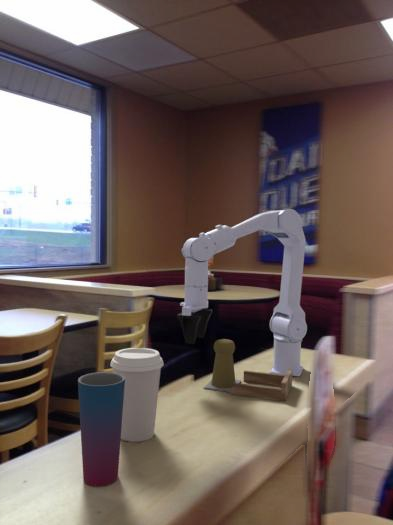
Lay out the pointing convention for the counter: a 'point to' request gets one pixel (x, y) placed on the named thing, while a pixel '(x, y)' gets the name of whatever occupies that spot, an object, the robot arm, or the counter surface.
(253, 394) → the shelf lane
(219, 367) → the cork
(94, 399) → the cup
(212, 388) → the mat
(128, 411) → the coffee cup
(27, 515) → the counter surface
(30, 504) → the counter surface
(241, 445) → the counter surface
